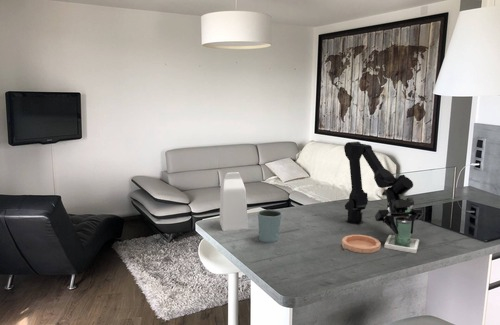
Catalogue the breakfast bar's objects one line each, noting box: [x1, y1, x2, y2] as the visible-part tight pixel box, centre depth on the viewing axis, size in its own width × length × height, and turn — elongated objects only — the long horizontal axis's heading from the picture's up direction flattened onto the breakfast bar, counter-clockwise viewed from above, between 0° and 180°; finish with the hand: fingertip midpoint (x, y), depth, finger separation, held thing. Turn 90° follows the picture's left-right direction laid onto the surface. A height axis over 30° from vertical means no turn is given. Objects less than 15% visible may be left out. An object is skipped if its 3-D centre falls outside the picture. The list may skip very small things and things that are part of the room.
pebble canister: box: [394, 217, 412, 247], centre depth 164 cm, size 6×6×11 cm
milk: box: [219, 171, 249, 232], centre depth 189 cm, size 12×12×26 cm
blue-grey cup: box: [257, 209, 282, 244], centre depth 173 cm, size 10×10×12 cm
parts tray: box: [384, 234, 420, 254], centre depth 165 cm, size 12×12×2 cm
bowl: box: [341, 234, 382, 254], centre depth 165 cm, size 15×15×3 cm
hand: (404, 233), depth 162 cm, fingers closed on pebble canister, 6 cm apart
